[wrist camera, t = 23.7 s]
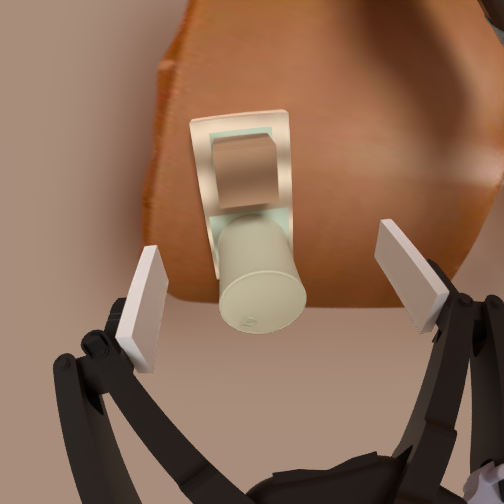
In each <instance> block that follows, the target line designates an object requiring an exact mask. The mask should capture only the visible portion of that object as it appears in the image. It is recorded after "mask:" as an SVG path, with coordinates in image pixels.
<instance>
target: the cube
mask: <svg viewBox="0 0 504 504" xmlns="http://www.w3.org/2000/svg"><path fill="white" fill-rule="evenodd" d="M212 154H213V161H214V169H215V176H216V183H217V190H218V197H219V204H220V209H222V208H230V207H238V206H246V205H255V204H264V203H273V202H279V187H278V167H277V149H276V144H275V143H274V141H273V140H272V139H271V137H270V136H269V135H268V133H257V134H247V135H237V136H229V137H221V138H214V140H213V149H212Z"/></svg>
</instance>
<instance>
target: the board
mask: <svg viewBox="0 0 504 504" xmlns="http://www.w3.org/2000/svg"><path fill="white" fill-rule="evenodd" d="M189 124H190V131H191V137H192V144H193V150H194V156H195V162H196V168H197V174H198V180H199V186H200V192H201V198H202V203H203V209H204V214H205V220H206V225H207V230H208V236H209V241H210V246H211V251H212V256H213V261H214V266H215V271H216V276H217V279H220V272H219V252H218V240H219V237H220V234H221V232H222V231H223V229H224V228H225V227H226V226H227V225H228V224H229V223H230V222H232V221H233V220H235V219H237V218H239V217H242V216H246V215H262V216H266V217H269V218H271V219H273V220H274V221H276V222H277V223H278V224H279V225H280V226H281V227H282V228H283V230H284V232H285V234H286V238H287V244H288V247H289V249H290V252H291V255H292V258H293V217H292V181H291V155H290V133H289V115H288V112H287V111H285V110H283V109H281V110H267V111H255V112H244V113H235V114H226V115H218V116H211V117H204V118H198V119H192V120H191V122H190V123H189ZM257 133H268V135H269V136H270V137H271V139H272V140H273V141H274V143H275V144H276V149H277V167H278V187H279V202H273V203H264V204H255V205H246V206H238V207H230V208H222V209H220V204H219V197H218V190H217V183H216V176H215V169H214V161H213V154H212V149H213V140H214V138H221V137H229V136H237V135H247V134H257Z"/></svg>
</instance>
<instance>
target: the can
mask: <svg viewBox="0 0 504 504" xmlns="http://www.w3.org/2000/svg"><path fill="white" fill-rule="evenodd" d="M218 252H219V272H220V300H219V310H220V314H221V316H222V318H223V319H224V320H225V322H226V323H227V324H228V325H230V326H231V327H233V328H234V329H236V330H239V331H241V332H245V333H250V334H266V333H271V332H275V331H278V330H281V329H283V328H285V327H287V326H288V325H290V324H291V323H293V322H294V321H295V320H296V319H297V318H298V317H299V316H300V315H301V313H302V312H303V310H304V308H305V305H306V291H305V289H304V287H303V285H302V283H301V280H300V277H299V275H298V272H297V269H296V266H295V264H294V261H293V258H292V255H291V252H290V249H289V247H288V244H287V238H286V234H285V232H284V230H283V228H282V227H281V226H280V225H279V224H278V223H277V222H276V221H274V220H273V219H271V218H269V217H266V216H262V215H246V216H242V217H239V218H237V219H235V220H233V221H232V222H230V223H229V224H228V225H227V226H226V227H225V228H224V229H223V231H222V232H221V234H220V237H219V240H218Z"/></svg>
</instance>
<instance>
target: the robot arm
mask: <svg viewBox="0 0 504 504" xmlns="http://www.w3.org/2000/svg"><path fill="white" fill-rule="evenodd" d="M477 1H478V3H479V5H480V6H481V8H482V10H483V12H484V14H485V18H486V20H487V21H488V23H489V24H490V25H491V26H492V28H493V29H494V31H495V33H496V35H497V37H498V39H499V41H500V43H501V44H502V46H503V47H504V0H477ZM374 258H375V259H376V261H377V262H378V264H379V265H380V267H381V269H382V270H383V272H384V273H385V275H386V277H387V278H388V280H389V281H390V283H391V285H392V286H393V288H394V290H395V291H396V293H397V295H398V296H399V298H400V300H401V301H402V303H403V305H404V307H405V308H406V310H407V312H408V314H409V315H410V317H411V319H412V321H413V322H414V324H415V326H416V328H417V330H418V332H419V333H420V334H423V333H426V332H430V331H432V329H433V327H434V325H435V323H436V324H437V326H438V328H439V329H438V331H437V333H436V335H435V337H434V338H433V340H432V342H434V345H433V349H432V353H431V356H430V360H429V364H428V367H427V370H426V374H425V377H424V380H423V383H422V386H421V389H420V392H419V395H418V398H417V401H416V404H415V407H414V409H413V412H412V415H411V417H410V420H409V422H408V425H407V427H406V430H405V432H404V434H403V437H402V439H401V441H400V443H399V445H398V446H397V448H396V449H395V451H394V453H393V454H392V456H391V457H389V456H381V455H377V452H376V451H375V452H372V453H368V454H365V455H361V456H358V457H354V458H351V459H349V460H347V461H345V462H344V463H342V464H339V465H338V466H335V467H334V468H331V469H329V470H305V469H297V470H290V471H284V472H275V473H273V477H271V478H268V479H265V480H263V481H261V482H260V483H258V484H256V485H255V486H254V487H252V488H251V489H250V490H249V491H248V492H247V493H246V494H244V493H243V492H242V491H240V490H239V489H238V488H237V487H236V486H235V485H234V484H232V483H231V482H230V481H229V480H228V479H227V478H226V477H225V476H224V475H223V474H222V473H220V472H219V471H218V470H217V469H216V468H215V467H214V466H213V465H212V464H211V463H210V462H209V461H208V460H207V459H206V458H205V457H204V456H203V455H202V454H201V453H200V452H199V451H198V450H197V449H196V448H195V447H194V446H193V445H192V444H191V443H190V442H189V441H188V440H187V439H186V438H185V436H184V435H182V433H181V432H180V431H179V430H178V429H177V428H176V426H175V425H174V424H173V423H172V422H171V421H170V420H169V418H168V417H167V416H166V415H165V414H164V412H163V411H162V410H161V409H160V408H159V406H158V405H157V404H156V403H155V402H154V400H153V399H152V398H151V397H150V395H149V394H148V393H147V392H146V390H145V389H144V388H143V386H142V385H141V384H140V382H139V381H138V380H137V378H136V377H135V376H134V374H133V370H134V367H135V369H136V370H137V372H138V373H153V370H154V363H155V356H156V349H157V344H158V337H159V332H160V326H161V320H162V314H163V308H164V303H165V298H166V293H167V288H168V283H169V281H168V278H167V275H166V272H165V269H164V266H163V263H162V260H161V257H160V253H159V250H158V247H157V245H153V246H146V247H144V250H143V252H142V255H141V258H140V261H139V264H138V267H137V269H136V272H135V275H134V278H133V281H132V284H131V287H130V290H129V293H128V297H126V298H118V299H117V300H116V302H115V303H114V304H113V305H112V308H111V311H110V315H109V317H108V321H107V323H106V326H105V329H104V331H102V330H93V331H91V332H89V333H87V334H86V335H85V336H84V338H83V339H82V342H81V348H82V350H83V351H84V353H85V354H86V356H83V357H80V358H77V359H76V358H75V357H74V356H73V355H72V354H69V353H66V354H62V355H60V356H59V357H58V358H57V359H56V360H55V362H54V364H53V374H54V382H55V391H56V398H57V405H58V411H59V417H60V422H61V428H62V432H63V438H64V442H65V446H66V451H67V455H68V458H69V463H70V466H71V470H72V473H73V477H74V480H75V483H76V487H77V490H78V493H79V496H80V499H81V501H82V504H142V503H141V500H140V498H139V496H138V494H137V492H136V490H135V487H134V485H133V483H132V481H131V478H130V476H129V474H128V471H127V469H126V466H125V464H124V461H123V458H122V456H121V453H120V450H119V448H118V445H117V442H116V439H115V436H114V433H113V431H112V427H111V424H110V421H109V418H108V415H107V411H106V408H105V404H104V401H103V398H102V394H105V393H108V392H109V393H110V395H111V396H112V398H113V400H114V401H115V403H116V404H117V406H118V407H119V409H120V410H121V412H122V413H123V415H124V416H125V418H126V419H127V421H128V422H129V424H130V425H131V426H132V428H133V429H134V431H135V432H136V433H137V435H138V436H139V437H140V439H141V440H142V441H143V443H144V444H145V445H146V447H147V448H148V449H149V451H150V452H151V453H152V454H153V456H154V457H155V458H156V459H157V460H158V462H159V463H160V464H161V465H162V467H163V468H164V469H165V470H166V471H167V473H168V474H169V475H170V476H171V477H172V478H173V479H174V481H175V482H176V483H177V484H178V486H179V488H180V490H181V491H182V492H183V493H184V494H185V496H186V497H187V498H188V499H189V500H190V501H191V502H192V503H193V504H504V302H503V301H502V300H501V299H500V298H499V297H498V296H495V295H488V296H487V297H486V299H485V301H484V302H477V301H473V299H472V298H471V297H470V296H469V295H467V294H464V293H459V292H458V291H457V289H456V288H455V287H454V285H453V284H452V283H451V281H450V280H449V279H448V277H447V276H446V275H445V274H444V272H442V270H441V268H440V267H439V266H438V265H437V264H436V263H435V262H433V261H432V260H430V259H427V260H425V259H424V257H423V256H422V255H421V254H420V252H419V251H418V250H417V249H416V248H415V246H414V245H413V244H412V243H411V241H410V240H409V239H408V238H407V237H406V236H405V234H404V233H403V232H402V231H401V230H400V229H399V227H398V226H397V225H396V224H395V223H394V222H393V221H392V219H385V220H380V226H379V232H378V238H377V244H376V249H375V255H374ZM469 358H470V369H471V386H472V432H471V434H472V435H471V451H470V474H471V475H470V476H469V477H468V479H467V482H466V483H465V485H464V487H463V492H464V493H465V494H464V497H463V498H461V497H460V496H458V495H456V494H454V493H452V492H451V491H449V490H447V489H446V488H444V487H442V486H441V485H440V483H441V481H442V478H443V475H444V473H445V470H446V467H447V465H448V462H449V459H450V456H451V453H452V450H453V447H454V444H455V441H456V437H457V431H456V430H455V429H454V427H455V422H456V419H457V415H458V411H459V407H460V403H461V399H462V395H463V390H464V385H465V380H466V375H467V369H468V363H469Z"/></svg>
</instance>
